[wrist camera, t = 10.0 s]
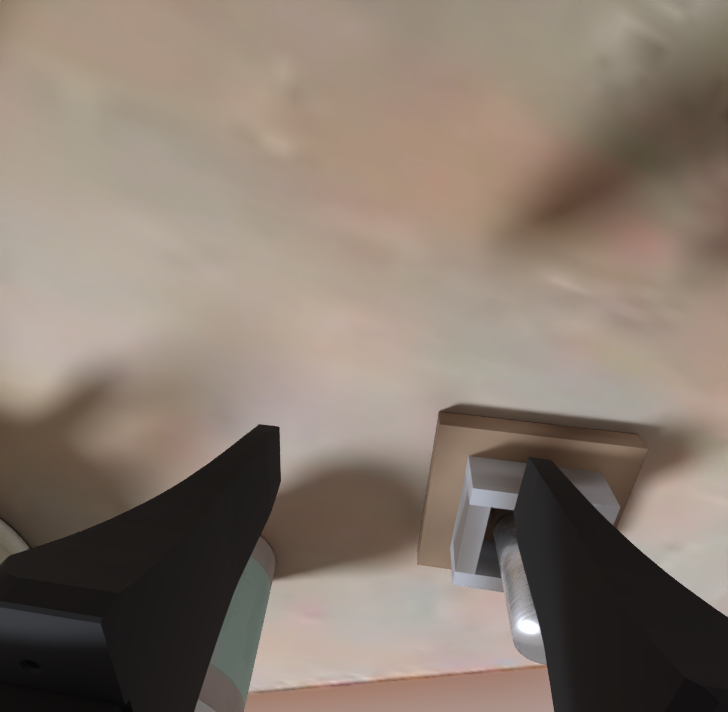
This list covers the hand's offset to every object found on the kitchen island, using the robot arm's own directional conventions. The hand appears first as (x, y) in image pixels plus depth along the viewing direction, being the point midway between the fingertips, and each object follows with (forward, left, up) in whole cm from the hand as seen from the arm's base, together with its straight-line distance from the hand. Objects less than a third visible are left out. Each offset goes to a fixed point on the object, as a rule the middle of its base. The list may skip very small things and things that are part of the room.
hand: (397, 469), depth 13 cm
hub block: (-7, +9, -10) cm, 15 cm away
